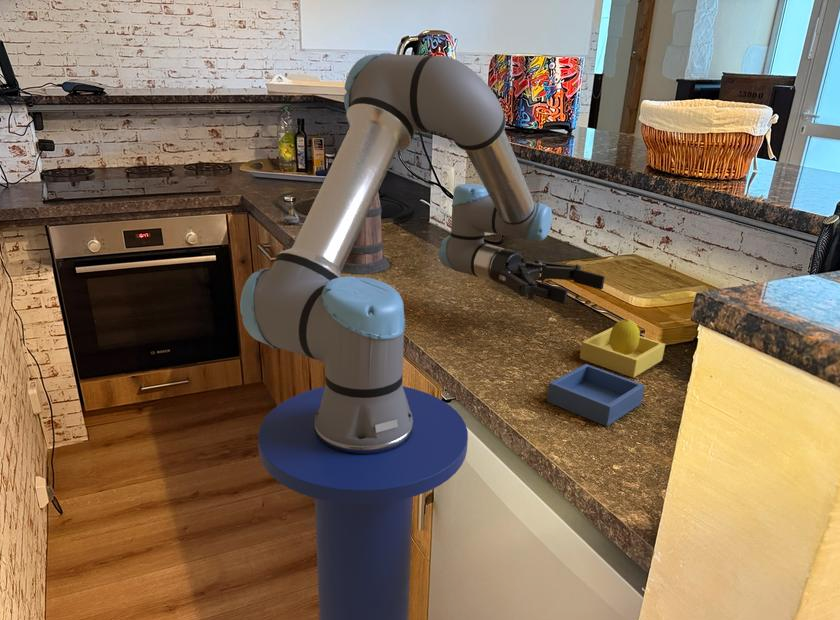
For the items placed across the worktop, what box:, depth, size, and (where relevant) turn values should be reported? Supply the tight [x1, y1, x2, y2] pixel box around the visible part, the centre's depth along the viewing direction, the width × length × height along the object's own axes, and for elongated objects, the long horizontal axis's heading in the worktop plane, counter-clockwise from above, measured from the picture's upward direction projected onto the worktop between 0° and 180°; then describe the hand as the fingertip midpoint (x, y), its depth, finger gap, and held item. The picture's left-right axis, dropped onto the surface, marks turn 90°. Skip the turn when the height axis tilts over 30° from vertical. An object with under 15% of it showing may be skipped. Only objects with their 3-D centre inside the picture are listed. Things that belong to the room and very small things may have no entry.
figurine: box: [282, 205, 300, 226], centre depth 225 cm, size 5×4×6 cm
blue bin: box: [546, 363, 646, 427], centre depth 116 cm, size 12×12×4 cm
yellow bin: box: [579, 326, 666, 379], centre depth 133 cm, size 12×12×4 cm
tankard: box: [341, 191, 391, 275], centre depth 185 cm, size 24×17×20 cm
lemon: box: [610, 317, 641, 355], centre depth 132 cm, size 6×6×8 cm
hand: (585, 289), depth 134 cm, fingers open, 13 cm apart
